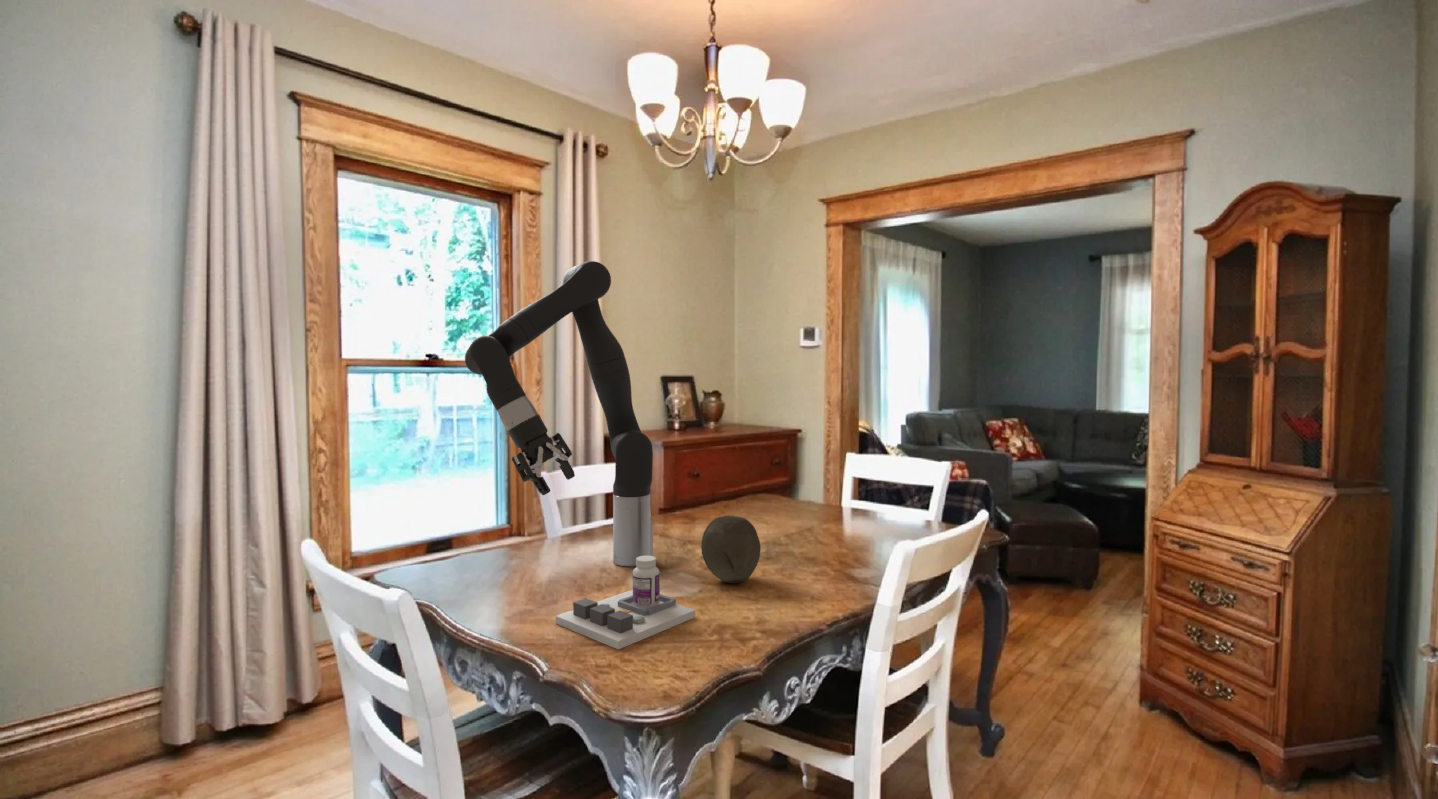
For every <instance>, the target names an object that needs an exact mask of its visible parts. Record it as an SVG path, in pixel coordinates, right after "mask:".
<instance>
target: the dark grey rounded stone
mask: <svg viewBox="0 0 1438 799" xmlns="http://www.w3.org/2000/svg"><path fill="white" fill-rule="evenodd" d="M700 548H701V554H702V558H703V562H704V563H705V565H706V567H707V569H708V570H709V571H710V572H711V574H713V575H714V576H715V577H716V578H718V579H719V580H721V581H722V582H725V583H728V584H738V583H742V582H745V581H746V580H748V579H749V578H750V577H751V576H752V574H753V573H754V572H755V571H756V568H757V566H758V564H759V562H760V561H759V560H760V556H761V542H760V538H759V536H758V532H757V530H756V527H755V526H754V525H753V524H752V523H751V522H750V520H748V519H747V518H746V517H743V516H737V515H736V516H735V515H722V516H719V517H715V518H714V519H712V520H711V521H710V522H709V524H708V525H707V526H706V528H705V529H704V532H703V533H702V538H701V546H700Z"/></svg>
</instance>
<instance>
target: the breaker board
mask: <svg viewBox="0 0 1438 799" xmlns="http://www.w3.org/2000/svg"><path fill="white" fill-rule="evenodd" d="M572 603H573V604H572V606H573V609H572V610H569V611H568V610H567V611H566V612H563V613H560V614H557V615H555V624H556V625H558V626H561V627H563V628H566V629H568V630H570V631H573V632H575V633H578V634H580V635H582V636H585V637H587V638H589V639H592V640H593V641H594V640H595V641H597V642H598V643H601V644H603V645H607V646H609V647H611V648H614V649H616V650H621V649H623V648H625V647H628V646H630V645H633V644H634V643H635V644H636V643H637V642H640V641H642V640H644V639H646V638H647V639H648V638H649V637H652V636H654V635H657V634H659V633H661V632H663V631H666V630H668V629H671V628H673V627H675V626H678V625H680V624H683V623H685V622H687V621H690V620H692V619H695V618H696V610H695V609H694V608H690V607H688V606H684V605H681V604H678V603H677V598H673V597H671V596H667V595H664V594H662V593H661V594H660V603H659V605H656V606H654V607H651V608H648V609H644V608H641V607H638V606H635V605H633V589H631V590H628V591H625V592H622V593H619V594H616V595H614V596H610V597H607V598H604V599H601V600H598V601H595V600H591V599H589V598H588V597H587V598H586V597H585V598H582V599H579V600H576V601H572Z"/></svg>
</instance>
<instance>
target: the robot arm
mask: <svg viewBox="0 0 1438 799" xmlns="http://www.w3.org/2000/svg"><path fill="white" fill-rule="evenodd" d="M611 285H612V277H611V273H610V271H609V270H608V268H607V267H606V266H605V265H604V264H602V263H601V262H598V261H595V260H593V261H592V260H591V261H590V260H588V261H584V262H581V263H578V264H577V265H575V266H572V267H571V268H569V269H567V271H566V272H565V273H564V275H563V279H562V285H560V286H559V287H558V288H556V289H554V290H553V291H552V292H549V293H548V294H546V295H545V296H542V297H541V298H539V299H537V300H535V301H533V302H532V303H530V304H528V305H526V306H525V307H523V308H521V309H520V310H519V311H517V312H516V313H515V314H513V315H512V316H509V317H508V318H507V319H506V320H504V321H503V322H502V323H501V324H500V325H498V327H497V328H496V329H495V330H494V331H493V332H491V333H490V334H489V335H481V336H478V337H477V338H475V339H474V340H473V341H472V342H471V344H470V346H468V348H467V350H466V352H465V355H464V363H465V365H466V368H467V369H468V370H469V371H470V372H472V373H473V374H476V375H480V376H482V377H483V380H484V382H485V384H486V393H487V395H488V397H489V400H490V402H491V403H492V404H493V406H494V408H495V410H496V412H497V414H498V416H499V419H500V421H501V423H502V424H503V426H504V428H505V429H506V431H507V434H508V435H509V437H510V438H511V440H512V442H513V444H514V445H515V447H516V448H518V449H520V451H521V452H519V453H516V454H515V455H513V456H512V457H511V460H512V462H513V465H514V466H515V468H516V470H517V472H518V475H519V476H520V478H521V479H522V481H523V482H525V483H526V482H530V481H531V482H533V484H534V486H535V488H536V489H537V491H538V493H539V494H541V495H542V496H545V495H547V494H549V493H550V492H551V488H550V486H549V485H548V483H547V482H546V480H545V478H544V476H542V468H543V464H544V463H546V462H547V461H550V462H554V463H556V464H558V465H559V469H560V470H561V472H562V473H563V475H564V477H565V479H566V480H568V481H569V480H571V479H572V478H574V477H575V476H576V475H575V471H574V469H573V467H572V465H571V464H570V462H569V458H570V457H571V456H573V453H572V451H571V449H570V448H569V446H568V444H567V442H566V441H565V439H564V438H563V437H562V435H561V434H560V433H559V432H556V433H555V434H553V435H551V436H549V435H548V432H549V431H548V428H547V427H546V425H545V423H544V421H543V419H542V418H541V416H540V414H539V412H538V411H537V409H536V407H535V405H534V404H533V402H532V401H531V400H530V398H529V397H528V396H527V394H526V392H525V391H524V388H523V387H522V386H521V383H520V382H519V381H518V379H517V378H516V375H515V372H514V369H513V366H512V365H513V364H512V363H511V360H510V357H512V356H513V355H514V354H515V353H516V352H518V351H520V350H521V349H522V348H525V347H526V346H527V345H529V344H530V343H531V342H533V341H534V340H535V339H537V338H538V337H540V336H541V335H543V334H544V333H545V332H546V331H547V330H549V329H550V328H551V327H553V326H554V325H555V324H556V323H558V322H560V321H561V320H562V319H563V318H565V317H566V316H568V315H569V314H571V313H572V316H573V319H574V320H575V324H576V326H577V330H578V332H579V337H580V339H581V340H580V341H581V344H582V346H583V350H584V353H585V358H586V361H587V366H588V369H589V374H590V376H591V380H592V383H593V385H594V389H595V392H596V395H597V397H598V400H599V403H600V405H601V408H602V410H603V413H604V416H605V421H606V425H607V431H608V437H609V443H610V450H611V454H612V456H613V457H614V460H615V470H614V471H615V472H614V473H615V474H614V475H615V476H614V482H613V485H612V501H613V502H612V508H613V509H612V510H613V511H612V513H613V514H612V516H613V517H612V521H613V522H612V526H613V528H612V530H613V531H612V532H613V533H612V534H613V537H612V539H613V540H612V542H613V543H612V544H613V546H612V547H613V548H612V552H613V553H612V554H613V555H612V556H613V558H612V560H613V561H612V562H613V564H615V565H618V566H620V567H621V566H622V567H637V566H636V558H637V557H639V556H654V523H653V522H652V521H651V486H652V481H653V469H654V468H653V466H654V465H653V461H654V454H653V453H654V449H653V445H652V442H651V440H650V438H649V436H647V435H646V434H644V433H643V432H642V431H641V428H640V425H639V423H638V420H637V417H636V414H635V411H634V408H633V407H634V406H633V400H632V397H633V396H632V383H631V381H632V380H631V376H630V375H631V374H630V371H629V368H628V367H629V366H628V364H627V359H626V356H625V352H624V350H623V348H622V346H621V343H620V342H619V341H618V339H617V337H616V336H615V335H614V334H613V332H612V331H611V330H610V328H609V326H608V325H607V323H606V322H605V319H604V316H603V313H602V310H601V306H600V303H599V302H600V301H599V299H602V298H603V297H604V296H605V295H606V294H607V293H608V292H609V290H610V287H611Z"/></svg>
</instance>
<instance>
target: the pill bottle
mask: <svg viewBox="0 0 1438 799" xmlns="http://www.w3.org/2000/svg"><path fill="white" fill-rule="evenodd" d="M660 585H661V584H660V569H659V568H658V567H657V557H656V556H654V555H653V556H639V557H637V558H636V566H635V568H633V570H632V590H633V605H635V606H638V607H641V608H644V609H648V608H651V607H654V606H656V605H659V603H660V592H661V588H660V587H661V586H660Z"/></svg>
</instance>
